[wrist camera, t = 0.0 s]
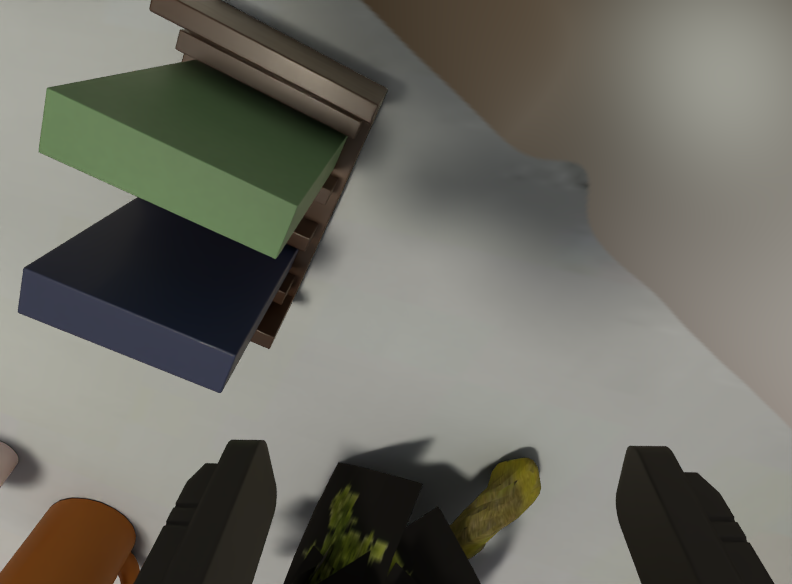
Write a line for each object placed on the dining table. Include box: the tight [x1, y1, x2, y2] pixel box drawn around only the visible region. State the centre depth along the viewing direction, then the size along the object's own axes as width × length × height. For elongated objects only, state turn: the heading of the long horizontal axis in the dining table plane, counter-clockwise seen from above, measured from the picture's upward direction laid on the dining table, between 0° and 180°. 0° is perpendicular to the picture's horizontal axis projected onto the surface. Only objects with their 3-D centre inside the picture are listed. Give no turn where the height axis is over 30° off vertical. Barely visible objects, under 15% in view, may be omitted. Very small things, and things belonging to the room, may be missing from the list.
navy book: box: [18, 197, 299, 393], centre depth 27 cm, size 2×9×13 cm, turn 64°
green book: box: [39, 60, 348, 259], centre depth 24 cm, size 2×9×13 cm, turn 64°
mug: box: [0, 498, 140, 584], centre depth 47 cm, size 9×12×9 cm
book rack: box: [149, 0, 388, 349], centre depth 29 cm, size 16×11×6 cm
